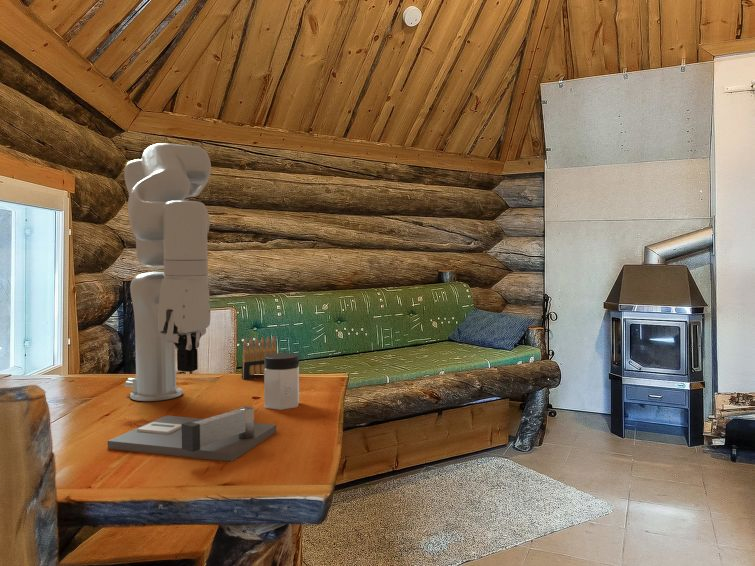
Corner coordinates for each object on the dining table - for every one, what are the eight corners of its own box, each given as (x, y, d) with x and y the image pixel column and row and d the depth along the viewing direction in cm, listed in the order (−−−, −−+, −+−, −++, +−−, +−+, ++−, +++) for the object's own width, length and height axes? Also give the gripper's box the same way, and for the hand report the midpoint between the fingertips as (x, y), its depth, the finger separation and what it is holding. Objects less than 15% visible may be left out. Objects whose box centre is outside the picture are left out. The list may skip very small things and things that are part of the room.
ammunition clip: (243, 380, 173) (243, 338, 172) (241, 378, 174) (241, 337, 174) (278, 375, 179) (277, 335, 178) (275, 374, 180) (275, 335, 180)
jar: (271, 411, 138) (271, 360, 138) (258, 404, 145) (257, 355, 144) (306, 406, 143) (306, 356, 143) (291, 399, 150) (291, 351, 149)
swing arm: (193, 457, 102) (192, 426, 102) (181, 454, 104) (181, 423, 104) (257, 434, 115) (257, 407, 115) (246, 432, 117) (245, 404, 116)
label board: (107, 448, 113) (107, 437, 112) (166, 422, 130) (166, 412, 130) (231, 461, 105) (231, 449, 105) (276, 432, 123) (276, 421, 123)
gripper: (191, 267, 116) (192, 361, 117) (141, 271, 102) (143, 378, 103) (226, 268, 114) (227, 363, 115) (179, 272, 100) (181, 381, 101)
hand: (187, 370), depth 109 cm, fingers closed
